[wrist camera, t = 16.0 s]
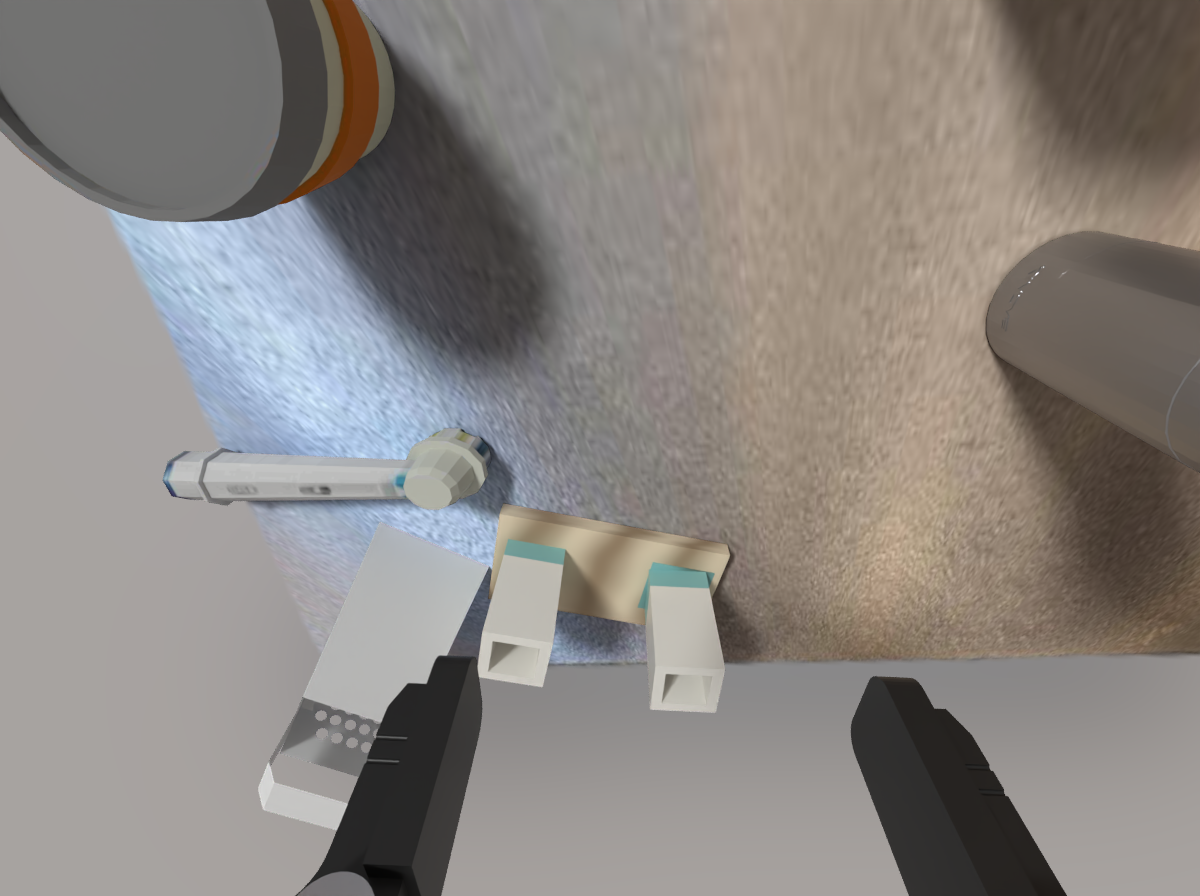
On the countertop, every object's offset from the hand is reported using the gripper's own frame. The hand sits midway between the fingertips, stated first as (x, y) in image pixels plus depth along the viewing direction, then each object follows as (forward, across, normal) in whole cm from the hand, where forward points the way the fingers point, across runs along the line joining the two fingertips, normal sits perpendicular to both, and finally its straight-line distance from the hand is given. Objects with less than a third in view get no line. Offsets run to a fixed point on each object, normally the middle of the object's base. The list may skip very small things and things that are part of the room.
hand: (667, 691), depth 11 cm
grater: (+30, +19, +27) cm, 45 cm away
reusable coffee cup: (+30, +19, -12) cm, 38 cm away
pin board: (+30, +1, +24) cm, 39 cm away
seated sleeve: (+29, +8, +23) cm, 37 cm away
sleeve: (+28, -5, +25) cm, 38 cm away
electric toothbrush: (+31, +23, +14) cm, 41 cm away
